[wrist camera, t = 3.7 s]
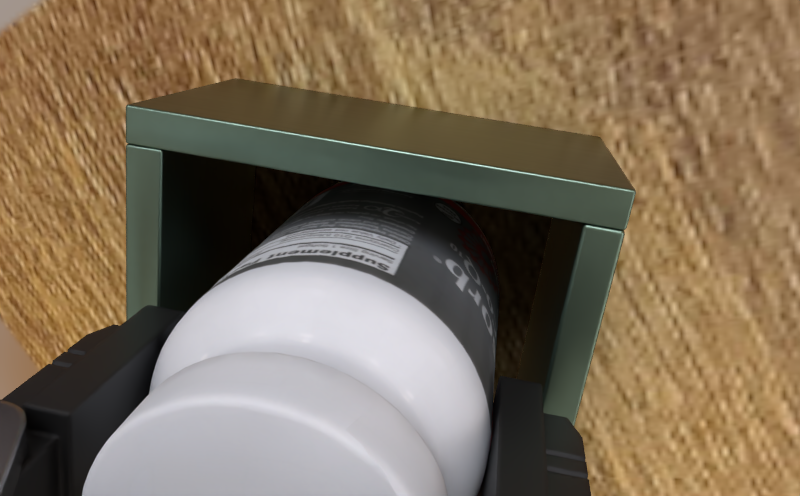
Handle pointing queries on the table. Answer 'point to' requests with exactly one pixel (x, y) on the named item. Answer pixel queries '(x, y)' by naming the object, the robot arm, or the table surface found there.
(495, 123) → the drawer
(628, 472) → the table surface
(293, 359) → the pill bottle
